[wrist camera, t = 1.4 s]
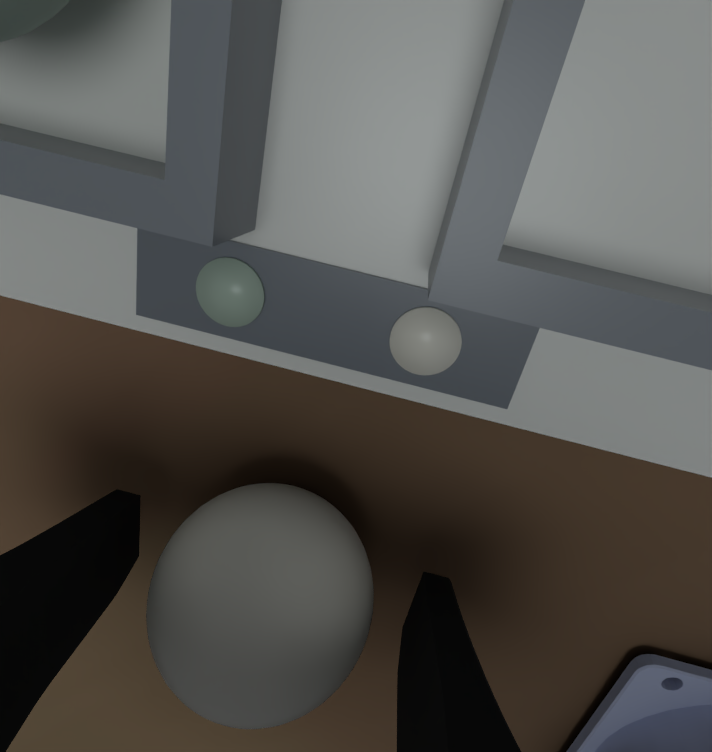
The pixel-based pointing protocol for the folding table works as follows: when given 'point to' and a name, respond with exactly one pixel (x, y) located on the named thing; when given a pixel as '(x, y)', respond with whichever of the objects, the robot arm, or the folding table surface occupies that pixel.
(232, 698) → the ivory ball
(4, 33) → the sage ball
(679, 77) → the ball sorting tray
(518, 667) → the folding table surface
